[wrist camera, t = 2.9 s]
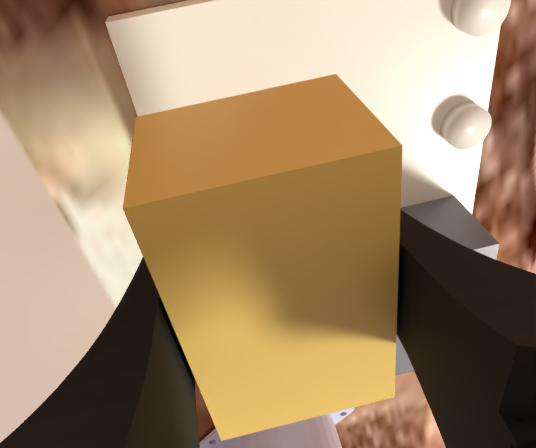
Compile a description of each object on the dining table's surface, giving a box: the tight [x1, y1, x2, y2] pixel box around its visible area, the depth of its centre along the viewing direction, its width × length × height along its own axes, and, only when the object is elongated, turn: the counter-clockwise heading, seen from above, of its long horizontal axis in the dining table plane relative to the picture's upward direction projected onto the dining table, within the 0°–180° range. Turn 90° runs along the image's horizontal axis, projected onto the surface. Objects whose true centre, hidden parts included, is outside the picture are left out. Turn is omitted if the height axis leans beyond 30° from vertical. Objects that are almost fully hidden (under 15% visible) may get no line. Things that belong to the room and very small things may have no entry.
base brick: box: [395, 196, 499, 375], centre depth 24 cm, size 8×5×4 cm, turn 8°
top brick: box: [123, 74, 403, 441], centre depth 12 cm, size 8×5×4 cm, turn 8°
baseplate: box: [105, 0, 511, 214], centre depth 22 cm, size 20×15×2 cm
